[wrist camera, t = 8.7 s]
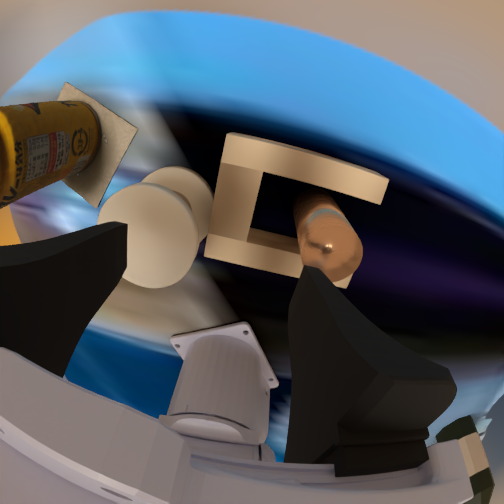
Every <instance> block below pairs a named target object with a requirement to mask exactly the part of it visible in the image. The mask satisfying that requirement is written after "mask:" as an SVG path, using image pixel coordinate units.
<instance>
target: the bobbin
mask: <svg viewBox="0 0 504 504" xmlns="http://www.w3.org/2000/svg"><path fill="white" fill-rule="evenodd" d="M213 200H214V194H213V191H212V189H211V187H210V186H209V184H208V183H207V182H206V180H205V179H204V178H203V177H202V176H201V175H199V174H198V173H196V172H195V171H193V170H191V169H189V168H186V167H181V166H168V167H163V168H161V169H158V170H156V171H155V172H153V173H151V174H149V175H148V176H147V177H145V178H144V179H143V180H142V181H141V183H136V184H132V185H129V186H127V187H125V188H123V189H122V190H120V191H118V192H116V193H115V194H113V195H112V196H111V197H110V198H109V199H108V200H107V201H106V202H105V203H104V205H103V207H102V208H101V211H100V213H99V217H98V221H97V225H99V224H102V223H106V222H111V221H117V222H122V223H126V224H128V234H127V268H126V270H125V272H124V274H123V276H122V277H123V278H125V279H126V280H128V281H130V282H132V283H134V284H136V285H139V286H143V287H148V288H162V287H167V286H170V285H172V284H174V283H176V282H178V281H179V280H180V279H182V278H183V277H184V276H185V275H186V273H187V272H188V270H189V269H190V267H191V265H192V263H193V261H194V259H195V257H196V255H197V252H198V248H199V243H200V242H201V241H202V240H203V239H204V238H205V237H206V235H207V234H208V229H209V223H210V217H211V211H212V206H213Z"/></svg>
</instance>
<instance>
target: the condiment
mask: <svg viewBox="0 0 504 504" xmlns="http://www.w3.org/2000/svg"><path fill="white" fill-rule="evenodd" d="M137 130H138V129H137V128H135V127H134V126H132V125H130V124H129V123H128V122H126V121H125V120H123V119H122V118H120V117H118V116H117V115H116V114H114V113H113V112H111V111H110V110H108V109H107V108H105V107H104V106H102V105H101V104H99V103H98V102H97V101H95V100H94V99H92V98H90V97H89V96H87V95H86V94H84V93H83V92H81V91H80V90H78V89H76V88H75V87H73V86H72V85H70V84H68V83H66V82H65V84H64V86H63V88H62V90H61V93H60V95H59V97H58V99H57V101H50V102H40V103H29V104H19V105H9V106H5V107H3V106H1V107H0V209H1V208H3V207H5V206H7V205H9V204H11V203H13V202H15V201H17V200H19V199H21V198H22V197H24V196H27V195H29V194H31V193H33V192H35V191H37V190H39V189H41V188H44V187H46V186H48V185H50V184H52V183H55V182H57V181H59V180H62V181H63V182H65V183H66V185H67V186H68V187H70V188H72V189H73V190H74V191H75V192H77V193H78V194H79V195H80V196H82V197H83V198H84V199H85V200H86V201H87V202H88V203H89V204H91V205H92V206H93V207H95V208H96V209H97V207H98V204H99V202H100V200H101V199H102V197H103V194H104V192H105V190H106V188H107V186H108V184H109V182H110V180H111V178H112V176H113V174H114V172H115V170H116V168H117V167H118V165H119V163H120V161H121V159H122V157H123V155H124V153H125V151H126V150H127V148H128V146H129V144H130V142H131V140H132V139H133V137H134V135H135V133H136V132H137ZM103 134H105V138H104V137H103ZM105 139H106V140H107V143H105ZM77 174H78V175H77Z"/></svg>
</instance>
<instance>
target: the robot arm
mask: <svg viewBox="0 0 504 504" xmlns="http://www.w3.org/2000/svg"><path fill="white" fill-rule="evenodd" d="M127 234H128V224H126V223H122V222H117V221H111V222H106V223H102V224H99V225H95V226H92V227H88V228H85V229H82V230H79V231H75V232H72V233H68V234H65V235H61V236H58V237H54V238H50V239H46V240H41V241H36V242H31V243H24V244H16V245H8V246H0V504H463V503H465V502H467V501H468V500H470V499H472V498H473V496H474V495H473V491H472V487H471V483H470V479H469V475H468V472H467V468H466V465H465V461H464V458H463V455H462V451H461V448H460V445H459V442H458V440H456V439H454V440H450V441H445V442H440V443H436V444H433V445H431V446H429V447H427V448H426V444H425V441H424V440H426V439H427V438H429V431H428V428H427V427H428V426H429V425H430V424H431V423H433V422H434V421H435V420H436V419H437V418H438V417H439V416H440V415H441V414H442V413H443V412H444V411H445V410H446V409H447V408H448V407H449V406H450V405H451V403H452V402H453V400H454V398H455V396H456V393H457V387H456V384H455V382H454V380H453V378H452V376H451V373H450V371H449V370H448V368H446V367H443V366H441V365H439V364H437V363H435V362H432V361H430V360H428V359H426V358H424V357H422V356H420V355H418V354H417V353H415V352H413V351H411V350H410V349H408V348H406V347H405V346H403V345H401V344H400V343H398V342H397V341H395V340H394V339H393V338H391V337H390V336H388V335H387V334H385V333H384V332H383V331H381V330H380V329H379V328H378V327H376V326H375V325H374V324H373V323H372V322H371V321H369V320H368V319H367V318H366V317H365V316H364V315H363V314H361V313H360V312H359V311H358V310H357V309H356V308H355V307H354V306H353V305H352V304H351V303H350V302H349V300H348V299H347V298H346V297H345V296H344V295H343V294H342V293H341V292H340V291H339V290H338V288H337V287H336V286H335V285H334V284H333V283H332V282H331V280H330V279H329V278H328V277H327V276H326V275H325V274H324V273H323V272H322V271H321V270H320V269H319V268H316V267H311V266H307V265H304V266H303V269H302V272H301V275H300V277H299V280H298V283H297V286H296V288H295V291H294V294H293V297H292V299H291V302H290V305H289V314H288V335H289V347H290V359H291V371H292V388H291V405H290V417H289V428H288V436H287V444H286V451H285V457H284V463H280V462H275V454H274V452H273V451H272V450H271V448H269V445H268V444H266V443H264V441H265V439H266V437H267V434H268V424H269V399H270V388H275V387H278V385H279V381H278V380H277V378H276V376H275V374H274V372H273V370H272V368H271V366H270V364H269V362H268V360H267V358H266V356H265V354H264V352H263V350H262V348H261V346H260V344H259V342H258V340H257V338H256V336H255V334H254V332H253V330H252V328H251V326H250V324H249V323H247V322H239V323H235V324H230V325H226V326H221V327H217V328H212V329H207V330H202V331H197V332H192V333H187V334H182V335H177V336H173V337H171V339H170V342H171V344H172V345H173V346H174V348H175V349H176V351H177V352H178V353H179V355H180V356H181V358H182V359H183V360H184V362H183V365H182V368H181V371H180V374H179V378H178V381H177V384H176V387H175V390H174V393H173V396H172V399H171V403H170V406H169V409H168V412H167V415H166V416H165V415H160V416H159V419H156V418H154V417H151V416H149V415H147V414H144V413H142V412H140V411H138V410H136V409H133V408H131V407H129V406H127V405H124V404H121V403H119V402H116V401H113V400H111V399H108V398H106V397H103V396H101V395H98V394H96V393H94V392H91V391H89V390H87V389H84V388H82V387H80V386H78V385H76V384H73V383H71V382H69V381H67V380H65V379H63V376H64V373H65V371H66V368H67V366H68V363H69V361H70V359H71V356H72V354H73V352H74V350H75V348H76V345H77V343H78V342H79V340H80V338H81V336H82V334H83V332H84V330H85V328H86V327H87V325H88V324H89V322H90V321H91V319H92V318H93V316H94V315H95V314H96V312H97V311H98V310H99V308H100V307H101V306H102V304H103V303H104V302H105V300H106V299H107V298H108V296H109V295H110V294H111V292H112V291H113V290H114V288H115V287H116V286H117V284H118V283H119V281H120V279H121V277H122V276H123V274H124V272H125V270H126V268H127ZM245 331H248V332H245ZM177 344H179V345H177Z"/></svg>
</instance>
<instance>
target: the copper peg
mask: <svg viewBox="0 0 504 504" xmlns="http://www.w3.org/2000/svg"><path fill="white" fill-rule="evenodd" d="M293 215H294V220H295V226H296V231H297V237H298V242H299V248H300V254H301V260H302V264H303V266H304V265H307V266H311V267H316V268H319V269H320V270H321V271H322V272H323V273H324V274H325V275H326V276H327V277H328V278H329V279H330V280H331V282H337V281H340V280H343V279H345V278H347V277H349V276H350V275H351V274H352V273H353V272H354V271H355V270H356V269H357V268H358V266H359V264H360V262H361V260H362V255H363V248H362V244H361V241H360V239H359V237H358V236H357V234H356V233H355V231H354V230H353V228H352V226H351V225H350V223H349V222H348V220H347V219H346V217H345V216H344V214H343V213H342V211H341V210H340V208H339V207H338V205H337V204H336V202H335V201H334V199H333V198H332V197H331V195H330V194H329V193H328V192H326V191H324V190H322V189H319V188H310V189H306V190H304V191H303V192H301V193H300V194H299V195H298V196H297V197H296V199H295V201H294V203H293Z"/></svg>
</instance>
